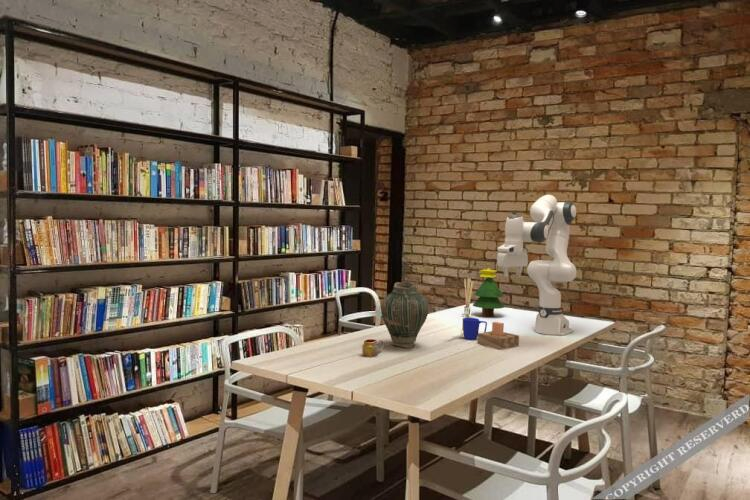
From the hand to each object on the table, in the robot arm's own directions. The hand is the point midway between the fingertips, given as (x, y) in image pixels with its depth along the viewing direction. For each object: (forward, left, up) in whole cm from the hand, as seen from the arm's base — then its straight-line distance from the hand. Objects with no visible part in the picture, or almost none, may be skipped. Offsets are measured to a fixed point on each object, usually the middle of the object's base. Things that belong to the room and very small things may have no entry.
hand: (512, 276), depth 277 cm
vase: (+49, -24, -33) cm, 64 cm away
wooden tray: (+9, 0, -33) cm, 34 cm away
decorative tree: (-48, -53, -33) cm, 79 cm away
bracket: (+9, 0, -33) cm, 34 cm away
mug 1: (+71, -19, -33) cm, 81 cm away
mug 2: (+9, -15, -33) cm, 38 cm away
